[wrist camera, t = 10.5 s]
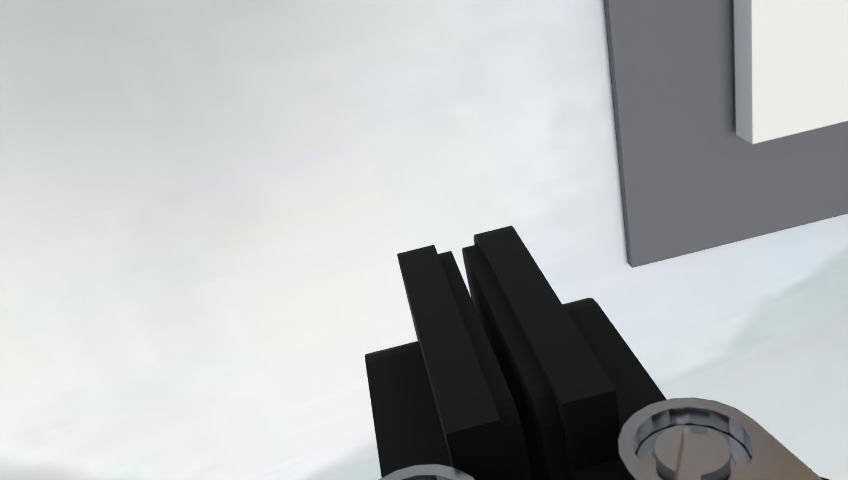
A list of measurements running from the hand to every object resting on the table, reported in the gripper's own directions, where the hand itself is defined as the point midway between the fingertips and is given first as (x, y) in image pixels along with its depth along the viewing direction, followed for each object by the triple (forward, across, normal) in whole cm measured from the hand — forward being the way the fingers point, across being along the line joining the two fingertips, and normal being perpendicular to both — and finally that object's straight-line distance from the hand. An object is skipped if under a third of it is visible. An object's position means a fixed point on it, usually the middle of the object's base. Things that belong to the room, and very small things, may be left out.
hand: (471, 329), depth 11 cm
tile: (+26, -18, +5) cm, 32 cm away
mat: (+27, -20, +8) cm, 35 cm away
